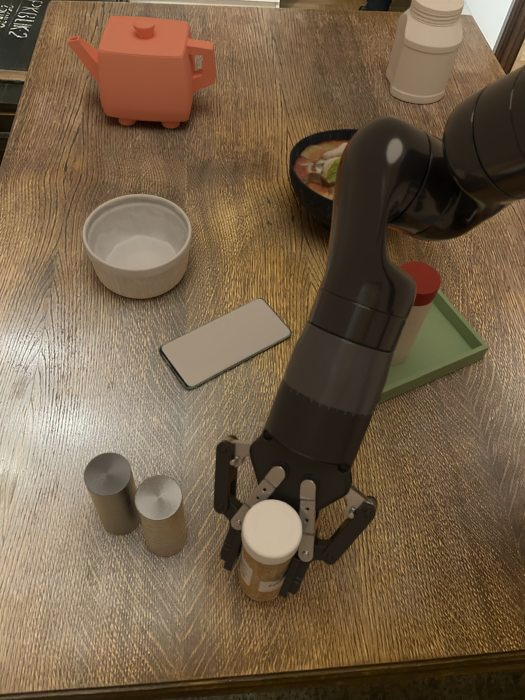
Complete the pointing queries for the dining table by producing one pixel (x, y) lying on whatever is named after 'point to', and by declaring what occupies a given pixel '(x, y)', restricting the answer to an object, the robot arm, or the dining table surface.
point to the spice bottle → (417, 306)
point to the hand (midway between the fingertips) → (257, 578)
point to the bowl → (318, 171)
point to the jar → (425, 50)
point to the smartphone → (224, 342)
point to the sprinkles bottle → (268, 548)
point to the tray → (436, 349)
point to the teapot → (147, 68)
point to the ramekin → (138, 244)
